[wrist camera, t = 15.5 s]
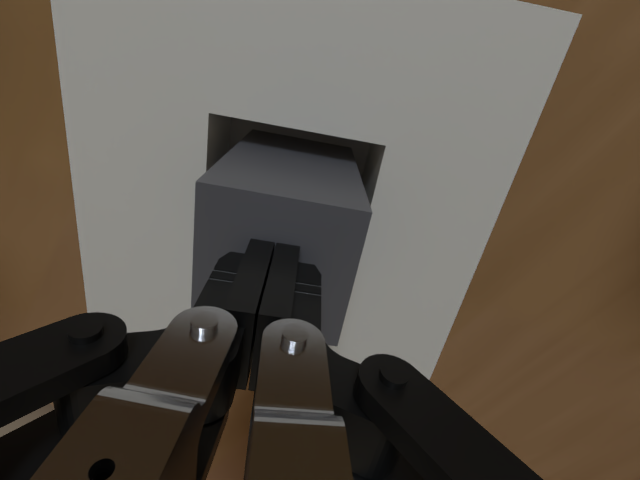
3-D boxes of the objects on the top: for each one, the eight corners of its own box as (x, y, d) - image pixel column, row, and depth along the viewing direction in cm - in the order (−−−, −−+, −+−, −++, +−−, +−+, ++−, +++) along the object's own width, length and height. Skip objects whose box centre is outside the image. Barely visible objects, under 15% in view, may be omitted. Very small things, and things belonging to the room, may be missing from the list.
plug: (351, 147, 19) (372, 212, 10) (332, 235, 21) (337, 346, 13) (252, 129, 18) (195, 181, 10) (243, 220, 20) (190, 324, 12)
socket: (513, 27, 17) (582, 14, 13) (407, 329, 25) (425, 389, 20) (119, -57, 16) (38, -105, 11) (135, 289, 24) (91, 342, 19)
